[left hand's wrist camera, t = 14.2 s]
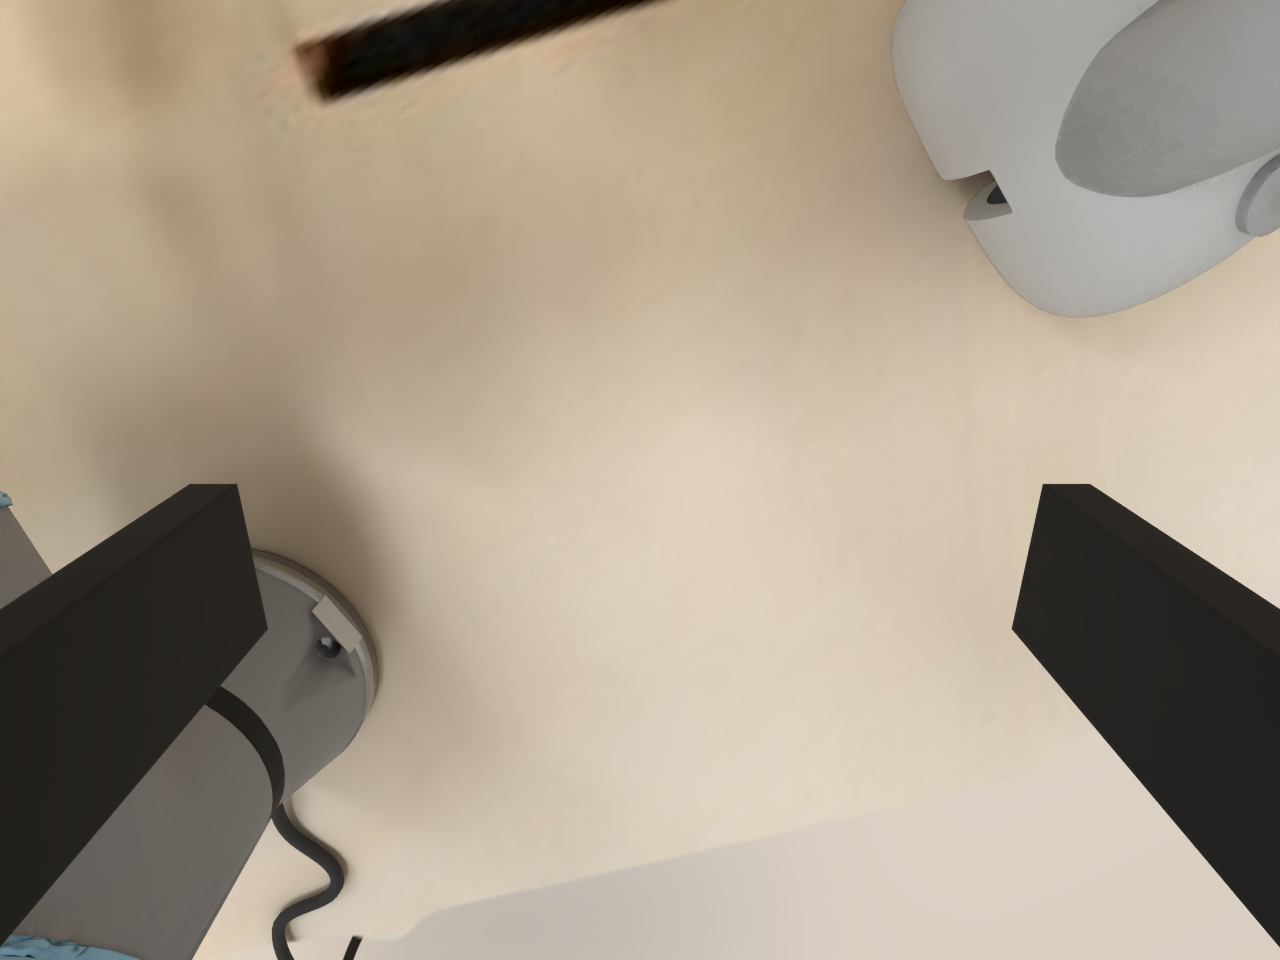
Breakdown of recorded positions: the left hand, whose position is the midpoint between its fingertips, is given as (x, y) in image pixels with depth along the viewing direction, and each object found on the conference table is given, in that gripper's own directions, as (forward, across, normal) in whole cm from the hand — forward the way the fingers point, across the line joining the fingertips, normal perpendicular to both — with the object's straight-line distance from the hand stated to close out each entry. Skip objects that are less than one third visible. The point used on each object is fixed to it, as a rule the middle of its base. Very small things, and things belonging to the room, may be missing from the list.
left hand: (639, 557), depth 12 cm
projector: (+27, -22, -12) cm, 37 cm away
